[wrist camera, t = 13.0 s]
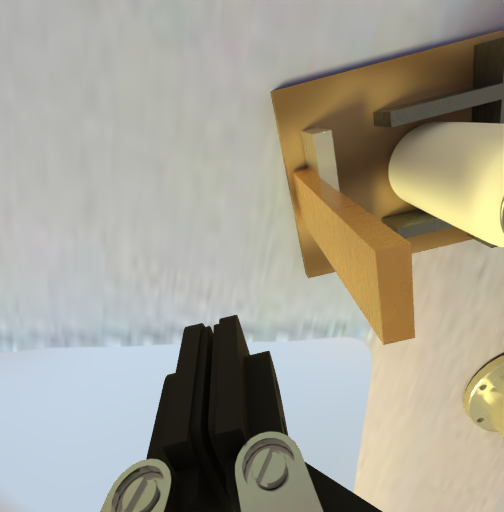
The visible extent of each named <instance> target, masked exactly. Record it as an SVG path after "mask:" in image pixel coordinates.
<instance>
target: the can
mask: <svg viewBox="0 0 504 512" xmlns="http://www.w3.org/2000/svg"><path fill="white" fill-rule="evenodd" d="M388 175H389V181H390V184H391V187H392V189H393V190H394V192H395V193H396V194H397V196H398V197H400V198H401V199H402V200H404V201H406V202H408V203H410V204H412V205H414V206H415V207H417V208H419V209H421V210H423V211H425V212H427V213H429V214H431V215H433V216H435V217H437V218H439V219H441V220H443V221H445V222H447V223H449V224H451V225H453V226H455V227H457V228H459V229H461V230H463V231H465V232H467V233H469V234H471V235H473V236H476V237H478V238H480V239H482V240H484V241H486V242H488V243H491V244H493V245H496V246H499V247H504V124H499V123H470V122H430V123H426V124H423V125H420V126H418V127H416V128H414V129H413V130H411V131H410V132H409V133H407V134H406V135H405V136H404V137H403V138H402V139H401V140H400V142H399V143H398V144H397V146H396V148H395V149H394V151H393V153H392V156H391V159H390V162H389V169H388Z"/></svg>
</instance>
